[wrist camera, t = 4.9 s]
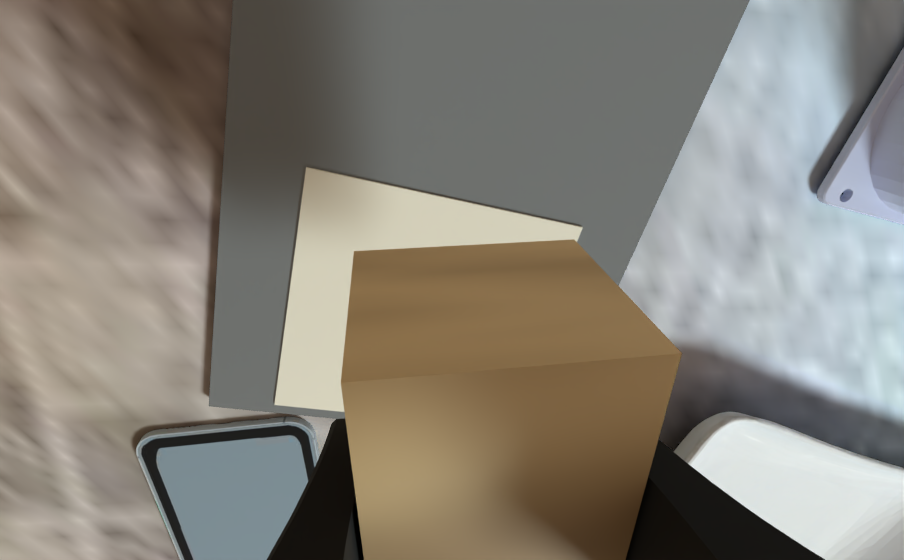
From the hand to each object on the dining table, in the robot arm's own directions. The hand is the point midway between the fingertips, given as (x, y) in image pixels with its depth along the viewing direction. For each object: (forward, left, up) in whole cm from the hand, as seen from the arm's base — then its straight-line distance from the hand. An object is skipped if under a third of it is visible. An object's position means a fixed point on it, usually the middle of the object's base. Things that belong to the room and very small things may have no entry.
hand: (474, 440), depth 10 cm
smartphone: (+5, +16, -10) cm, 19 cm away
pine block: (0, 0, -1) cm, 1 cm away
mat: (0, -2, -9) cm, 9 cm away
